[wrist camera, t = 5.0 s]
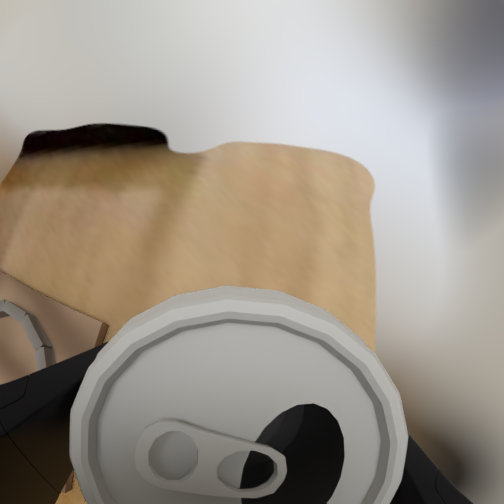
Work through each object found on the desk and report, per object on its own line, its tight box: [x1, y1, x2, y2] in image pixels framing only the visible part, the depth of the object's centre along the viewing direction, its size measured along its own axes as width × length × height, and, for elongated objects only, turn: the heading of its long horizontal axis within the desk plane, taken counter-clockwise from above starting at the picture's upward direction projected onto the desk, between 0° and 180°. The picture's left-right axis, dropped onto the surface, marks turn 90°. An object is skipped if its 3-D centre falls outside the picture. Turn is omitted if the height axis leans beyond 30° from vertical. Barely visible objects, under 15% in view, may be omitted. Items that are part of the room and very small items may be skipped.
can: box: [70, 286, 408, 504], centre depth 9 cm, size 8×8×12 cm
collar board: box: [0, 271, 108, 493], centre depth 16 cm, size 16×16×3 cm
